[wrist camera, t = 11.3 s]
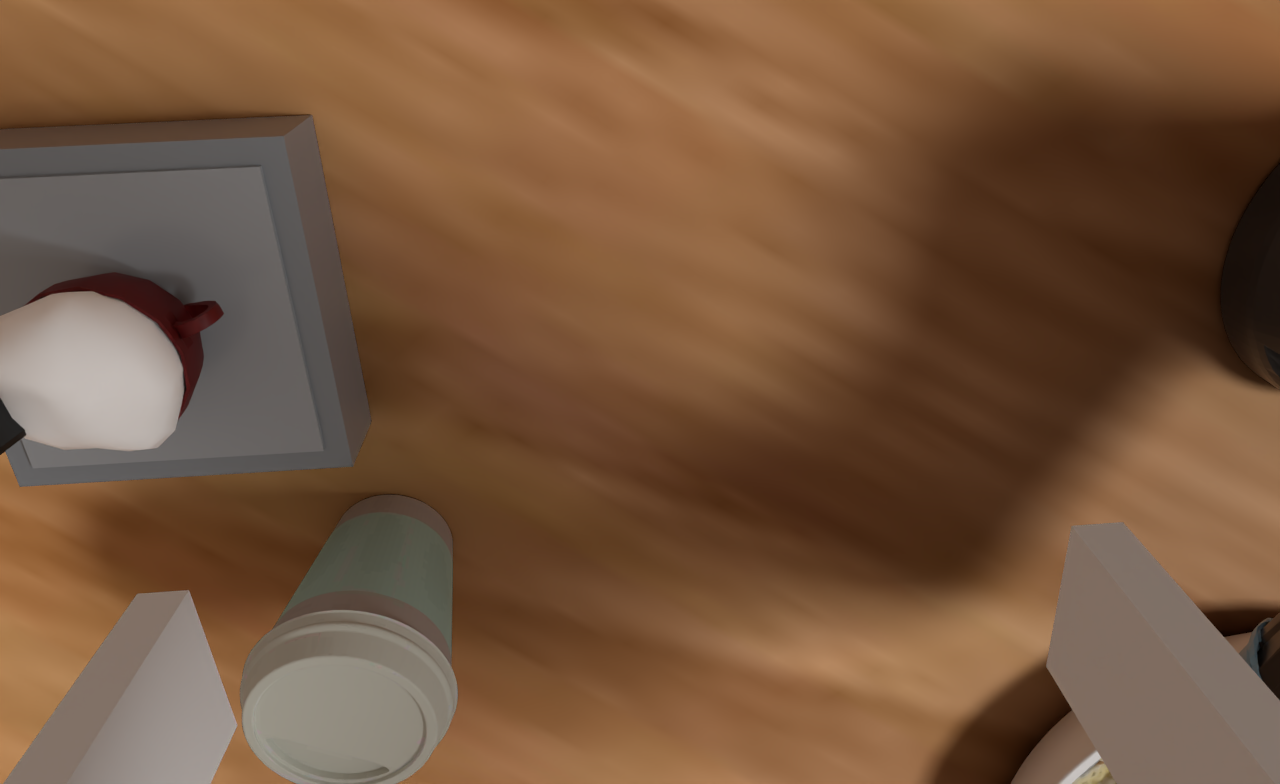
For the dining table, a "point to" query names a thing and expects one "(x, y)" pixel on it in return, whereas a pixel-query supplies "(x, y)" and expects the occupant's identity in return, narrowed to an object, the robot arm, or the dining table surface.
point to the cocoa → (100, 364)
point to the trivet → (197, 282)
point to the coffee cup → (359, 653)
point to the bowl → (1076, 750)
